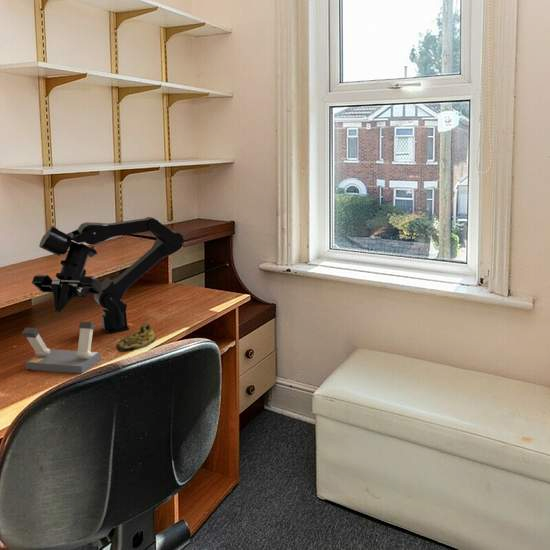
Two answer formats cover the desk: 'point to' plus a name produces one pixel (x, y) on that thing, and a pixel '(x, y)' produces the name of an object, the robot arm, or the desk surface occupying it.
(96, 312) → the desk surface
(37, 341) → the left lever
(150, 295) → the desk surface
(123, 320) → the robot arm
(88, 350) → the right lever
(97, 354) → the switch base
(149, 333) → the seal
